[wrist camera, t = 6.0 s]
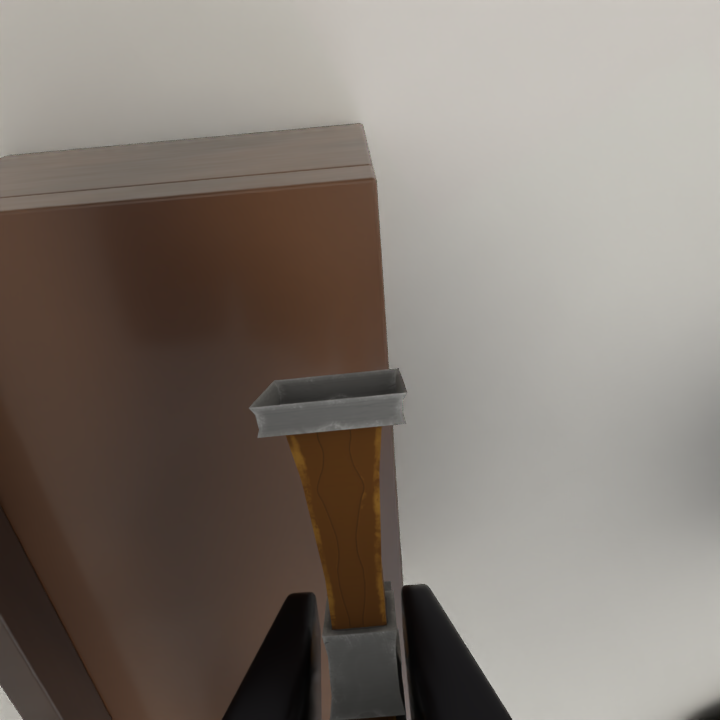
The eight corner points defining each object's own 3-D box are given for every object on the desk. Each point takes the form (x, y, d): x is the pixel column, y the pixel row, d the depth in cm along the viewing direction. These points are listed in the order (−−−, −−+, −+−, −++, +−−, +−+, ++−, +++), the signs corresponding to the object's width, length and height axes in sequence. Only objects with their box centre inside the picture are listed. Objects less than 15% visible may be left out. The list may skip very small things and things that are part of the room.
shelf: (363, 122, 16) (382, 200, 9) (395, 571, 25) (419, 800, 17) (4, 155, 16) (-283, 258, 9) (164, 590, 25) (90, 824, 18)
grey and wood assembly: (341, 740, 12) (323, 1019, 7) (296, 356, 11) (243, 411, 6) (429, 733, 12) (465, 1010, 7) (392, 347, 11) (408, 395, 6)
